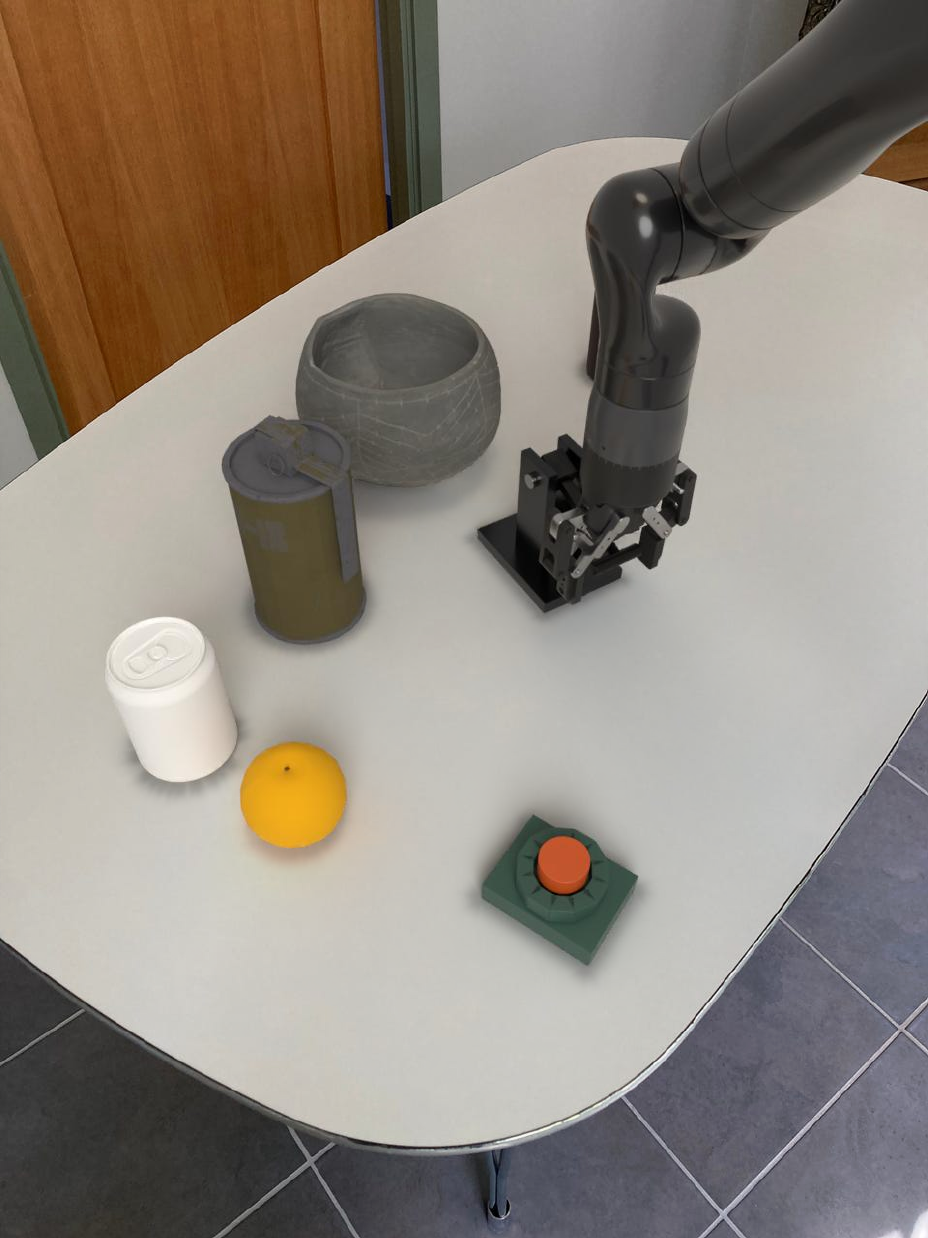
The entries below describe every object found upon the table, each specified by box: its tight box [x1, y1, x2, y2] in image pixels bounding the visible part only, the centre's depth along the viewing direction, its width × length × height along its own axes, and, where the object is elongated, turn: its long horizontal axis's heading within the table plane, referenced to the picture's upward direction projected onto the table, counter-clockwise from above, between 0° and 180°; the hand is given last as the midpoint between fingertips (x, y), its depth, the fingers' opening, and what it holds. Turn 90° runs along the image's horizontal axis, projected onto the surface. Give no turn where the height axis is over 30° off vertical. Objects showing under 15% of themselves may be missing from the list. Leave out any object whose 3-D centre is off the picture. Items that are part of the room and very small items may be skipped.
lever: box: [540, 448, 642, 576], centre depth 85 cm, size 12×5×2 cm, turn 31°
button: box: [537, 836, 590, 894], centre depth 67 cm, size 4×4×2 cm
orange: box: [239, 741, 348, 849], centre depth 72 cm, size 8×8×8 cm
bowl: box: [294, 292, 502, 488], centre depth 99 cm, size 21×21×15 cm
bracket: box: [477, 433, 623, 614], centre depth 90 cm, size 12×9×13 cm
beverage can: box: [103, 616, 238, 783], centre depth 75 cm, size 8×8×12 cm
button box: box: [481, 814, 639, 967], centre depth 69 cm, size 9×7×4 cm
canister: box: [220, 414, 367, 645], centre depth 83 cm, size 11×10×20 cm
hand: (608, 579), depth 86 cm, fingers open, 8 cm apart
